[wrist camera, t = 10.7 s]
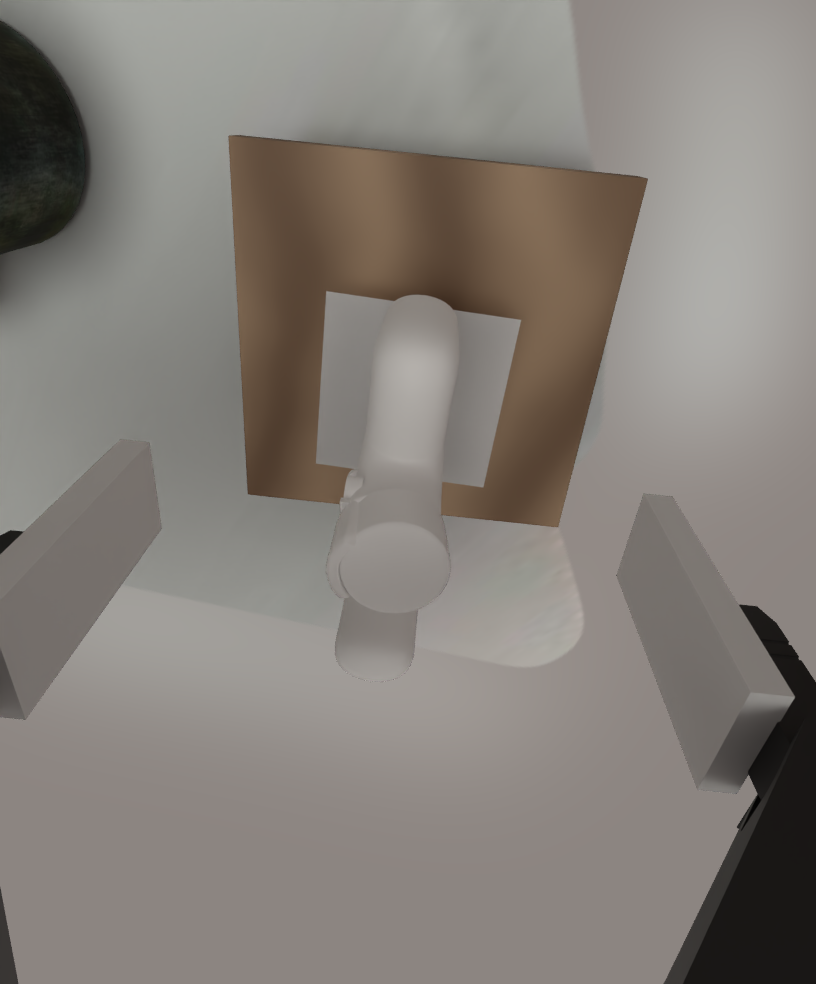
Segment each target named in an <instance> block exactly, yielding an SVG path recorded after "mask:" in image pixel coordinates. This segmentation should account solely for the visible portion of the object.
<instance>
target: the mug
mask: <svg viewBox="0 0 816 984" xmlns="http://www.w3.org/2000/svg"><path fill="white" fill-rule="evenodd" d="M84 175H85V157H84V149H83V142H82V136H81V132H80V129H79V125H78V122H77V118H76V115H75V113H74V110H73V108H72V106H71V103H70V101H69V98H68V96H67V94H66V93H65V91H64V89H63V87H62V85H61V84H60V82H59V80H58V78H57V77H56V75H55V74H54V73H53V71H52V70H51V68H50V67H49V66H48V64H47V63H46V61H45V60H44V59H43V58H42V57H41V56H40V54H39V53H38V52H37V51H36V50H35V49H34V48H33V47H32V46H31V44H29V43H28V42H27V41H26V40H25V39H24V38H23V37H21V36H20V35H19V34H18V33H17V32H16V31H15V30H13V29H12V28H10V27H9V26H7V25H6V24H4V23H3V22H1V21H0V254H2V253H6V252H9V251H13V250H17V249H20V248H24V247H27V246H31V245H34V244H38V243H41V242H43V241H45V240H47V239H49V238H51V237H53V236H54V235H55V234H57V233H58V232H59V231H60V230H61V229H63V228H64V226H65V225H66V224H67V223H68V221H69V220H70V219H71V217H72V216H73V214H74V212H75V210H76V208H77V206H78V204H79V200H80V197H81V193H82V190H83V183H84Z"/></svg>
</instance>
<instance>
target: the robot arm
mask: <svg viewBox="0 0 816 984" xmlns="http://www.w3.org/2000/svg"><path fill="white" fill-rule="evenodd" d="M161 529H162V527H161V520H160V513H159V506H158V499H157V492H156V485H155V478H154V471H153V464H152V457H151V450H150V443H149V442H141V441H131V440H122V439H120V440H119V441H118V442H117V443H116V444H115V445H114V446H113V447H112V448H111V449H110V450H109V451H108V452H107V453H106V454H105V455H104V456H103V457H102V458H101V459H100V460H98V461H97V462H96V463H95V464H94V465H93V466H92V467H91V468H90V469H89V470H88V471H87V472H86V473H85V474H84V475H83V476H82V477H81V478H80V479H79V480H78V481H77V482H76V483H74V484H73V485H72V486H71V487H70V488H69V489H68V490H67V491H66V492H65V493H64V494H63V495H62V496H61V497H60V498H59V499H58V500H57V501H56V502H55V503H54V504H53V505H51V506H50V507H49V508H48V509H47V510H46V511H45V512H44V513H43V514H42V515H41V516H40V517H39V518H38V519H37V520H36V521H35V522H34V523H33V524H32V525H31V526H30V527H28V528H27V529H26V530H25V531H24V532H22V531H12V530H10V531H8V532H6V533H5V534H3V535H1V536H0V717H4V718H14V719H23V720H25V719H26V718H27V717H28V715H29V714H30V713H31V711H32V710H33V709H34V707H35V706H36V704H37V703H38V702H39V700H40V699H41V697H42V696H43V695H44V693H45V692H46V690H47V689H48V688H49V686H50V685H51V683H52V682H53V680H54V679H55V678H56V676H57V675H58V673H59V672H60V671H61V669H62V668H63V666H64V665H65V664H66V662H67V661H68V659H69V658H70V657H71V655H72V654H73V652H74V651H75V650H76V648H77V647H78V645H79V644H80V642H81V641H82V639H83V638H84V637H85V635H86V634H87V633H88V631H89V630H90V628H91V627H92V626H93V624H94V623H95V621H96V620H97V619H98V617H99V616H100V614H101V613H102V612H103V610H104V609H105V607H106V606H107V605H108V603H109V601H110V600H111V599H112V598H113V596H114V595H115V593H116V592H117V590H118V589H119V588H120V586H121V585H122V583H123V582H124V581H125V579H126V578H127V576H128V575H129V574H130V572H131V571H132V569H133V568H134V567H135V565H136V564H137V562H138V561H139V560H140V558H141V557H142V555H143V554H144V552H145V551H146V550H147V548H148V547H149V545H150V544H151V543H152V541H153V540H154V538H155V537H156V536H157V534H158V533H159V531H160V530H161ZM616 576H617V578H618V581H619V584H620V586H621V589H622V592H623V594H624V597H625V600H626V602H627V605H628V607H629V610H630V613H631V615H632V618H633V621H634V623H635V626H636V629H637V631H638V634H639V636H640V639H641V642H642V645H643V647H644V650H645V652H646V655H647V658H648V660H649V663H650V666H651V668H652V671H653V673H654V676H655V679H656V682H657V684H658V686H659V689H660V692H661V695H662V697H663V700H664V703H665V705H666V708H667V711H668V713H669V716H670V719H671V721H672V724H673V727H674V729H675V731H676V734H677V737H678V739H679V742H680V745H681V748H682V750H683V753H684V756H685V758H686V761H687V763H688V766H689V769H690V771H691V774H692V777H693V779H694V782H695V785H696V787H697V790H703V791H713V792H723V793H732V794H737V793H738V791H739V789H740V788H741V786H742V784H743V783H744V781H745V779H746V778H747V776H748V774H749V776H750V778H751V780H752V782H753V785H754V787H755V789H756V791H757V793H758V794H757V796H756V798H755V799H754V801H753V802H752V804H751V805H750V807H749V809H748V810H747V812H746V813H745V815H744V816H743V818H742V820H741V821H740V823H739V824H738V826H737V828H739V830H738V833H737V835H736V837H735V839H734V841H733V843H732V845H731V847H730V849H729V851H728V853H727V855H726V857H725V859H724V861H723V863H722V865H721V867H720V870H719V872H718V874H717V876H716V878H715V880H714V882H713V884H712V886H711V888H710V890H709V892H708V894H707V896H706V898H705V900H704V902H703V904H702V907H701V909H700V911H699V913H698V915H697V917H696V919H695V921H694V923H693V925H692V927H691V929H690V931H689V933H688V935H687V937H686V939H685V941H684V943H683V946H682V948H681V950H680V952H679V954H678V956H677V958H676V960H675V962H674V964H673V966H672V968H671V970H670V972H669V974H668V976H667V979H666V981H665V982H664V984H816V682H815V680H814V679H813V677H812V676H811V675H810V673H809V671H808V670H807V668H806V667H805V665H804V664H803V662H802V661H801V660H799V659H798V657H799V656H798V655H797V653H796V652H795V650H794V649H793V647H792V646H791V645H789V644H788V643H789V641H788V640H787V638H786V637H785V635H784V634H783V632H782V631H781V629H780V628H779V626H778V625H777V623H776V622H775V621H773V620H772V619H771V618H770V617H769V616H767V615H766V614H765V613H764V612H763V611H762V610H760V609H759V608H758V607H756V606H748V605H739V604H738V603H737V601H736V600H735V598H734V596H733V595H732V593H731V591H730V590H729V588H728V586H727V585H726V583H725V582H724V580H723V578H722V577H721V575H720V573H719V572H718V570H717V568H716V567H715V565H714V564H713V562H712V561H711V559H710V557H709V555H708V554H707V552H706V550H705V549H704V547H703V546H702V544H701V542H700V541H699V539H698V537H697V536H696V534H695V532H694V531H693V529H692V527H691V526H690V524H689V523H688V521H687V519H686V518H685V516H684V514H683V513H682V511H681V509H680V508H679V506H678V505H677V503H676V501H675V500H674V498H673V497H672V496H661V495H652V494H643V497H642V500H641V503H640V507H639V510H638V513H637V515H636V519H635V521H634V524H633V527H632V530H631V533H630V536H629V539H628V542H627V546H626V549H625V551H624V554H623V557H622V560H621V563H620V566H619V569H618V572H617V575H616ZM0 984H18V979H17V974H16V968H15V963H14V958H13V953H12V947H11V942H10V937H9V931H8V926H7V921H6V916H5V910H4V905H3V900H2V894H1V889H0Z"/></svg>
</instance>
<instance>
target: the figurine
mask: <svg viewBox="0 0 816 984" xmlns="http://www.w3.org/2000/svg"><path fill="white" fill-rule="evenodd" d="M520 323H521V320H518V319H511V318H504V317H498V316H491V315H484V314H478V313H471V312H464V311H457V310H453V309H452V308H451V307H450V306H449V305H448V304H447V303H445V302H444V301H442V300H440V299H437V298H435V297H431V296H427V295H408V296H404V297H401V298H399V299H397V300H396V301H390V300H383V299H376V298H370V297H363V296H356V295H349V294H343V293H336V292H329V291H326V304H325V320H324V337H323V353H322V369H321V386H320V402H319V419H318V435H317V452H316V464H323V465H330V466H337V467H344V468H351V469H353V470H351V471H350V472H349V473H348V476H347V479H346V484H345V490H344V497H343V498H341V499H340V511H341V514H340V516H339V518H338V521H337V524H336V528H335V532H334V536H333V540H332V544H331V548H330V552H329V554H328V559H327V564H326V574H327V578H328V581H329V584H330V586H331V589H332V590H333V591H334V593H335V594H336V595H337V596H338V597H340V598H344V603H343V608H342V614H341V619H340V623H339V628H338V632H337V637H336V642H335V655H336V659H337V662H338V663H339V665H340V666H341V668H342V669H343V670H344V671H345V672H347V673H348V674H350V675H352V676H354V677H356V678H359V679H362V680H366V681H374V682H384V681H390V680H394V679H396V678H398V677H400V676H402V675H403V674H404V673H405V672H406V671H407V670H408V669H409V667H410V666H411V663H412V660H413V656H414V649H415V635H416V623H417V613H418V609H420V608H422V607H424V606H426V605H428V604H429V603H431V602H432V601H433V600H435V599H436V598H437V597H438V596H439V595H440V594H441V592H442V591H443V590H444V588H445V586H446V585H447V582H448V579H449V576H450V570H451V564H450V556H449V550H448V544H447V537H446V531H445V525H444V522H443V519H442V517H441V495H442V482H448V483H455V484H462V485H469V486H476V487H484V482H485V478H486V473H487V469H488V465H489V460H490V456H491V451H492V447H493V442H494V438H495V434H496V429H497V425H498V420H499V416H500V411H501V407H502V403H503V398H504V394H505V389H506V385H507V381H508V376H509V372H510V367H511V363H512V358H513V354H514V350H515V345H516V341H517V336H518V332H519V327H520Z"/></svg>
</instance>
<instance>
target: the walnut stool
mask: <svg viewBox="0 0 816 984" xmlns="http://www.w3.org/2000/svg"><path fill="white" fill-rule="evenodd" d="M229 154H230V172H231V191H232V209H233V228H234V246H235V265H236V283H237V302H238V320H239V339H240V357H241V376H242V394H243V413H244V431H245V450H246V468H247V487H248V494H250V495H259V496H268V497H278V498H287V499H297V500H306V501H316V502H325V503H334V504H340V499H341V498H343V497H344V490H345V484H346V479H347V476H348V473H349V472H350V471H351V470H353V469H351V468H344V467H337V466H330V465H323V464H316V452H317V435H318V419H319V402H320V386H321V369H322V353H323V337H324V320H325V304H326V291H329V292H336V293H343V294H349V295H356V296H363V297H370V298H376V299H383V300H390V301H396V300H397V299H399V298H401V297H404V296H408V295H427V296H431V297H435V298H437V299H440V300H442V301H444V302H445V303H447V304H448V305H449V306H450V307H451V308H452V309H453V310H457V311H464V312H471V313H478V314H484V315H491V316H498V317H504V318H511V319H518V320H521V323H520V327H519V332H518V336H517V341H516V345H515V350H514V354H513V358H512V363H511V367H510V372H509V376H508V381H507V385H506V389H505V394H504V398H503V403H502V407H501V411H500V416H499V420H498V425H497V429H496V434H495V438H494V442H493V447H492V451H491V456H490V460H489V465H488V469H487V473H486V478H485V482H484V487H476V486H469V485H462V484H455V483H448V482H442V495H441V515H447V516H457V517H466V518H476V519H485V520H494V521H504V522H513V523H523V524H532V525H541V526H551V527H558V525H559V521H560V517H561V513H562V509H563V506H564V502H565V498H566V494H567V490H568V486H569V482H570V479H571V475H572V471H573V467H574V463H575V459H576V456H577V452H578V448H579V444H580V440H581V436H582V432H583V428H584V425H585V421H586V417H587V413H588V409H589V405H590V401H591V397H592V394H593V390H594V386H595V382H596V378H597V374H598V370H599V367H600V363H601V359H602V355H603V351H604V347H605V343H606V339H607V336H608V332H609V328H610V324H611V320H612V316H613V312H614V308H615V304H616V301H617V297H618V293H619V289H620V285H621V281H622V277H623V274H624V270H625V266H626V261H627V258H628V254H629V250H630V246H631V242H632V238H633V235H634V231H635V227H636V223H637V219H638V215H639V212H640V208H641V204H642V200H643V196H644V192H645V188H646V184H647V180H648V179H647V178H643V177H638V176H630V175H621V174H611V173H602V172H592V171H582V170H573V169H563V168H553V167H544V166H534V165H524V164H514V163H505V162H495V161H485V160H476V159H466V158H456V157H446V156H437V155H427V154H417V153H408V152H398V151H388V150H378V149H369V148H359V147H349V146H340V145H330V144H320V143H310V142H301V141H291V140H281V139H272V138H262V137H252V136H242V135H233V136H229Z"/></svg>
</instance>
